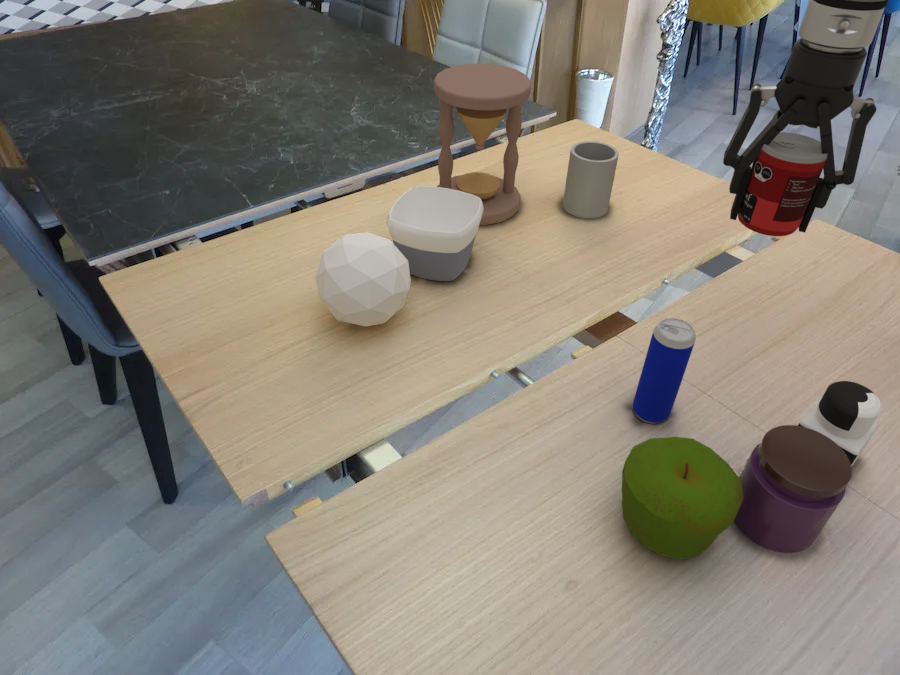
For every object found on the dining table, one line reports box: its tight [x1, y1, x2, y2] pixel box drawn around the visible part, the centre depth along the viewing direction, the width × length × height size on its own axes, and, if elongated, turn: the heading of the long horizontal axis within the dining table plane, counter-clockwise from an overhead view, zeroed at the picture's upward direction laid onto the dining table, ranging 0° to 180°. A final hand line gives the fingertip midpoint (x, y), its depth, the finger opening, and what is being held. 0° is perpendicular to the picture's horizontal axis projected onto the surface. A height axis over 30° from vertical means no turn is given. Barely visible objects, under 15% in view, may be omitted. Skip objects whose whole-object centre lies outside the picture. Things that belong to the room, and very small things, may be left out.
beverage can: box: [632, 317, 696, 425], centre depth 88 cm, size 5×5×15 cm
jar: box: [733, 424, 853, 554], centre depth 76 cm, size 10×10×11 cm
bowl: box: [386, 185, 484, 282], centre depth 116 cm, size 15×15×11 cm
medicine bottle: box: [797, 380, 883, 467], centre depth 83 cm, size 7×7×12 cm
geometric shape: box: [314, 232, 412, 327], centre depth 103 cm, size 14×15×15 cm
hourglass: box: [433, 63, 532, 226], centre depth 128 cm, size 18×18×25 cm
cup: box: [562, 140, 620, 219], centre depth 132 cm, size 9×9×12 cm
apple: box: [621, 436, 743, 560], centre depth 75 cm, size 12×12×11 cm
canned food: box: [737, 131, 828, 237], centre depth 86 cm, size 8×8×11 cm
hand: (767, 220), depth 89 cm, fingers closed on canned food, 8 cm apart
